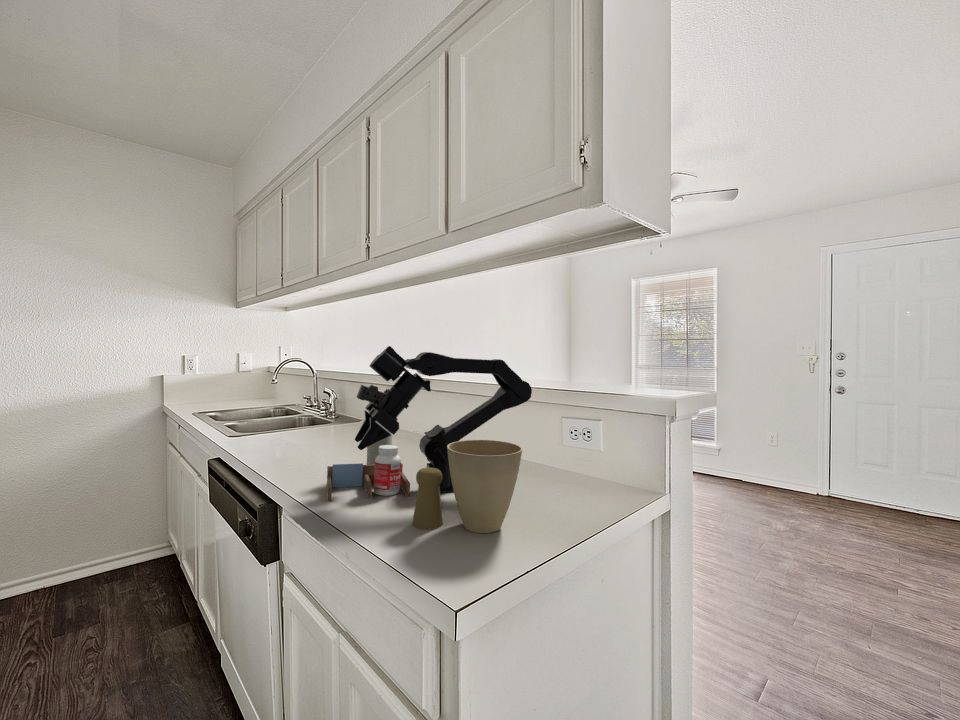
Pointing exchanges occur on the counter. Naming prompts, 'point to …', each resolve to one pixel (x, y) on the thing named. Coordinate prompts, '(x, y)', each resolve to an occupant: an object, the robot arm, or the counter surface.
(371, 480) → the divider rack
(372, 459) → the spray can
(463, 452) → the plant pot
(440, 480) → the olive green peg figure
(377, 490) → the pill bottle
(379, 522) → the counter surface
